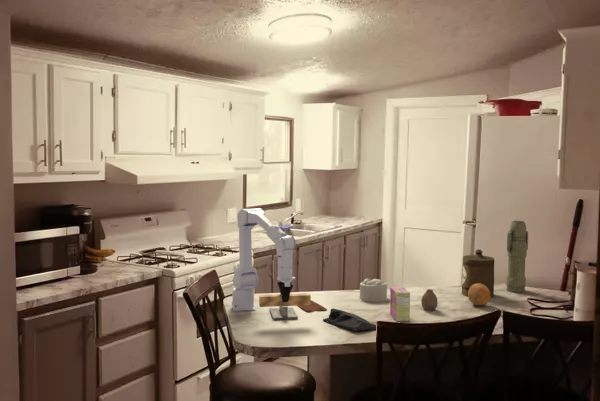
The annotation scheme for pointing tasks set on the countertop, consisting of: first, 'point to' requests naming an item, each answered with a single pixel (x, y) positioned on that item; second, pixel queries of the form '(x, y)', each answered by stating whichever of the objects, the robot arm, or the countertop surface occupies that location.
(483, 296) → the orange fruit
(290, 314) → the stand
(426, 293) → the vase
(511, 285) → the green totem statue
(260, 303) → the oak bar
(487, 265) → the wooden container
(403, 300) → the box
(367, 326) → the dark slate chunk
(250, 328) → the countertop surface
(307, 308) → the wooden tablet
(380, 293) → the lumpy-topped squat cylinder
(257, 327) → the countertop surface
